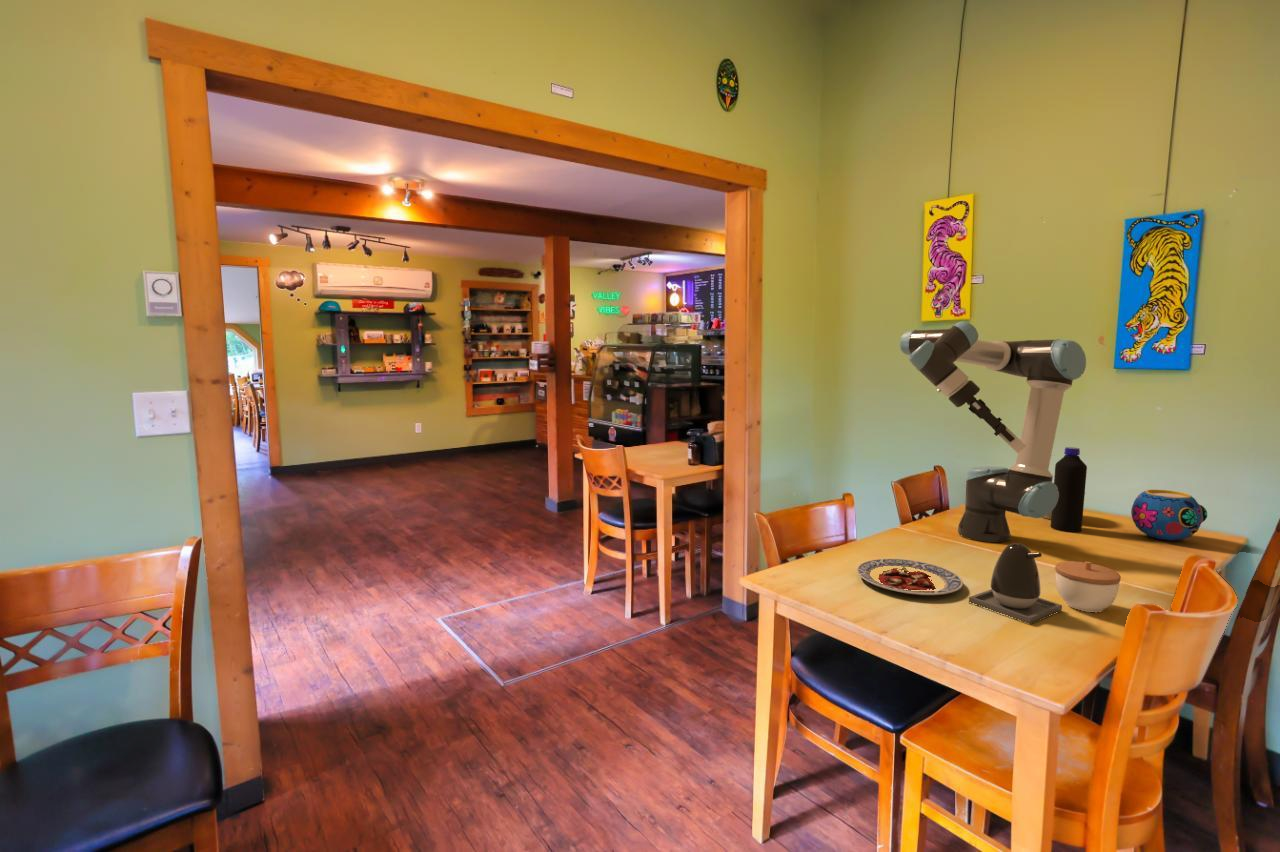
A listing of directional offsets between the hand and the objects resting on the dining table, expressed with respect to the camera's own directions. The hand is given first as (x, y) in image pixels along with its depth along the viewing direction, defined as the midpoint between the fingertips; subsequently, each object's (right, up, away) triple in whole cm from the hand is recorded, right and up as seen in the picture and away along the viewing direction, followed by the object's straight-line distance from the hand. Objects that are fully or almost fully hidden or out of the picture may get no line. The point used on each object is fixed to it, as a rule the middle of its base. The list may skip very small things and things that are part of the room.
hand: (1018, 445), depth 165 cm
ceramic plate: (-30, -37, -1) cm, 47 cm away
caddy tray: (-11, -38, -17) cm, 43 cm away
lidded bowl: (+5, -38, -17) cm, 42 cm away
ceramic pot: (+69, -31, +36) cm, 84 cm away
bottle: (+45, -30, +47) cm, 72 cm away
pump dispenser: (-11, -38, -17) cm, 43 cm away
